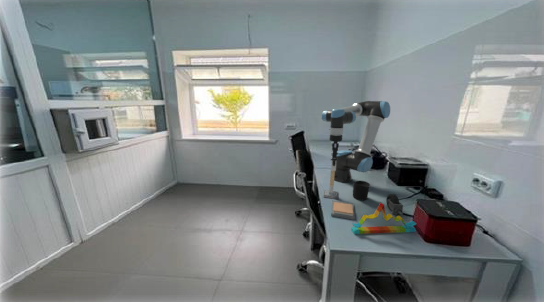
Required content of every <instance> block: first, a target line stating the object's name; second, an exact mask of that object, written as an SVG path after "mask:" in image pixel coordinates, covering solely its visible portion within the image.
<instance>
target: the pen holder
mask: <svg viewBox="0 0 544 302" xmlns="http://www.w3.org/2000/svg"><path fill="white" fill-rule="evenodd" d="M352 184H353V186H352V197H353V199H355V200H358V201H366V200H368V196H369V191H370V185H371V184H370V183H369V182H368V181H365V180H356V181H353V183H352Z"/></svg>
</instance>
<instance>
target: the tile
mask: <svg viewBox="0 0 544 302" xmlns="http://www.w3.org/2000/svg"><path fill="white" fill-rule="evenodd" d="M333 213H338V214H344V215H350V216H353V208H352V205H351V204H344V203H337V202H334V210H333Z"/></svg>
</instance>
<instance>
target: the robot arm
mask: <svg viewBox="0 0 544 302" xmlns="http://www.w3.org/2000/svg"><path fill="white" fill-rule="evenodd" d="M390 115H391V106H390V103H389V102H388V101H383V100H365V101H362V102H361V101H360V102H356V103H353V104H352V105H349V106H345V107H340V108H333V109H332V110H324V111H322V113H321V120H322V121H323V122H327V123H328V122H329V123H330V125H329V126H330V127H329V129H328V130H329V141H331V142H332V143H331V148H332V149H331V151H332V155H331V156H332V157H331V158H330V161H331V165H330V166H331V167H330V168H331V170H332V171H335V176H334V182H339V183H340V182H341V183H349V182H351V181H352V180H353V179H352V177H353V176H352V173H351V172H352V171H351V170H353V171H357V172H360V173H367V172H369V171H370V170H371V168H372V166H373V163H374V161H373V158H372V154H371V152H372V148H373V146H374V144H375V140H376V137H377V135H378V132H379V128H380V126H381V123H382V122H384V121H385V119H386V118H389V117H390ZM358 116H359V117H366V118H367V123H366V126H365V127H364V131H363V134H362V136H361V140H360V143H359V146H358V149H356V150H355V151H354V153H353V151H352V150H348V149H345V150H344V149H343V150H342V149H341V150H339V146H340V144H339V143H340V142H342V141H343V133H344V125H346V124H348V125H349V124H353V123H354V122H356V119H357V117H358ZM338 142H339V143H338ZM331 170H330V171H331Z"/></svg>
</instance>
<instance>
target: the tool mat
mask: <svg viewBox="0 0 544 302" xmlns="http://www.w3.org/2000/svg"><path fill="white" fill-rule="evenodd" d="M336 192H337V197H330V196H324V195H325V190H324V192H323V198H326V199H331V200H332V199H333V200H339V191H338V190H337V191H336Z"/></svg>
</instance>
